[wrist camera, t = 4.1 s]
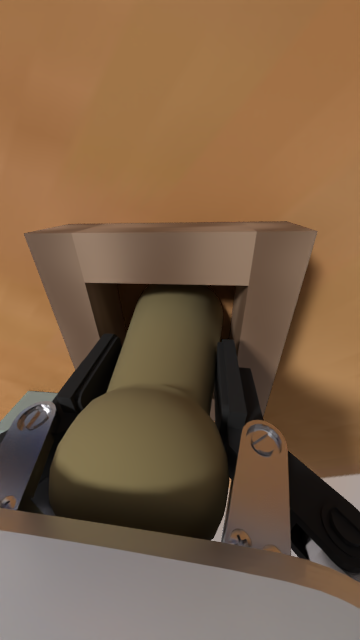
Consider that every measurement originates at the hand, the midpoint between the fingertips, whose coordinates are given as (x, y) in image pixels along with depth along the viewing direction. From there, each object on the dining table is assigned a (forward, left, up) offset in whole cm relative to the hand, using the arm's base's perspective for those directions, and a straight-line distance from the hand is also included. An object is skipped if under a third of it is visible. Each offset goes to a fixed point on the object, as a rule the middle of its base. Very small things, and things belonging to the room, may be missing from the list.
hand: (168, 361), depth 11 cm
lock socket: (0, 0, -4) cm, 4 cm away
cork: (0, 0, -5) cm, 5 cm away
